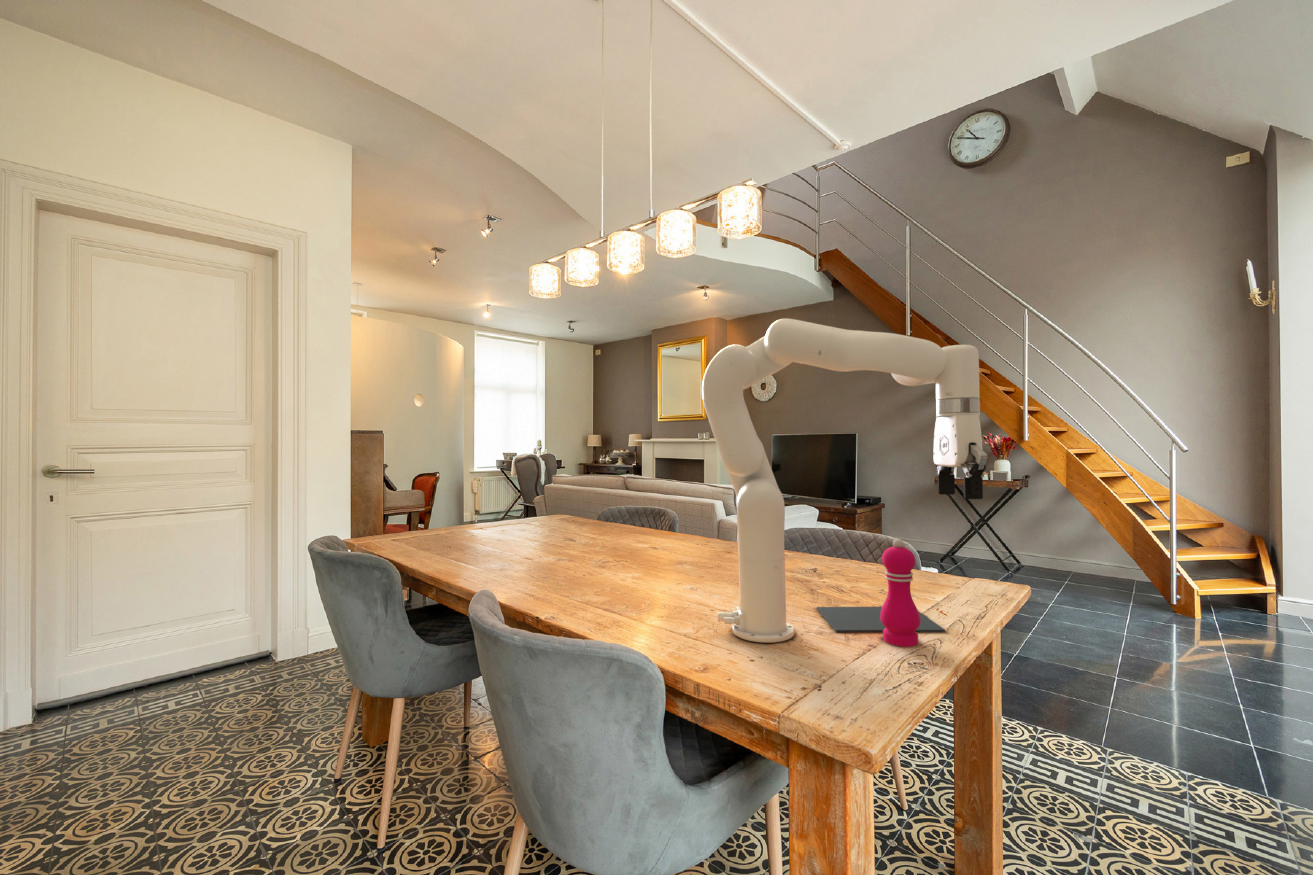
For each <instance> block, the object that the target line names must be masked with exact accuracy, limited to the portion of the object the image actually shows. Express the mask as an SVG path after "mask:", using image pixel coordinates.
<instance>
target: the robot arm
mask: <svg viewBox="0 0 1313 875" xmlns="http://www.w3.org/2000/svg"><path fill="white" fill-rule="evenodd" d="M979 354H980V353H979V350H978V348H977V347H976V346H974V345H971V344H953V345H947V346H943V347H941V346H940V345H939V344H938V343H936V342H933V341H931V340H928V339H924V338H921V337H920V338H919V337H915V336H910V335H904V334H899V333H893V332H883V331H868V330H858V329H857V330H856V329H855V330H854V329H845V328H839V327H836V326H830V325H825V324H820V323H819V324H818V323H815V322H809V321H805V320H801V319H794V318H780V319H777V320H775V321H774V322H772V323H771V324H770V325H769V327H768V329H767V330H766V333H765V335H764V336H762V337H761V338H759V339H757V340H756V341H754V342H752V343H751V344H749V345H747V346H744V345H741V344H730V345H727V346H725V347H723V348H722V349H720V350H719V351H718V352H717V353H716V354H715V355H714V357H713V358H712V359H711V360H710V362H709V363H708V365H707V367H706V369H705V371H704V374H703V378H702V384H701V397H702V402H703V407H704V410H705V411H704V412H705V414H706V417H707V419H708V423H709V426H710V429H711V432H712V435H713V438H714V440H715V444H716V447H717V449H718V453H719V458H720V461H721V463H722V466H723V467H724V469H725V470H726V472H727V474H728V477H729V479H730V482H731V485H732V488H733V491H734V493H735V497H736V526H737V527H736V529H737V557H738V599H739V606H736V610H731V611H732V612H726V611H717V613H716V614H717V615H716V616H717V617H716V618H717V622H718V623H719V622H720V623H721V622H723V624H724V625H731V626H732V627H731V628H732V633H733V634H734V635H735V636H736V637H738V638H740V639H742V640H744V641H745V640H746V641H749V642H754V643H766V644H767V643H769V644H770V643H772V644H773V643H781V642H784V641H788V640H790V639H792V638H793V637H794V636H795V627H794V625H792V624H791V623H789V622H787V591H786V590H787V589H786V588H787V587H786V556H785V555H786V553H785V552H786V550H785V548H786V547H785V523H786V522H785V521H786V519H785V518H786V517H785V516H786V510H785V508H786V506H785V500H784V496H783V493H782V492H781V490H780V488H779V485H778V483H777V480H776V477H775V475H774V471H773V469H772V466H771V463H770V462H769V461H770V460H769V459H768V456H767V454H766V451H765V447H764V444H763V442H762V441H761V439H760V438H759V436H758V433H757V431H756V429H755V426H754V423H753V421H752V419H751V416H750V413H749V409H748V406H747V403H746V400H745V397H744V390H746V389H749V388H750V387H752V386H754V385H756V384H758V383H760V382H761V381H763V380H765V379H767V378H769V377H770V376H772V375H774V374H776V373H778V372H780V371H781V370H783V369H784V368H786V367H788V366H789V365H791V364H792V363H797V364H802V365H805V366H807V365H808V366H812V367H815V368H816V367H817V368H821V369H825V370H829V371H833V372H834V371H835V372H844V373H845V372H846V373H847V372H856V371H874V372H881V373H887V374H891V377H892V378H893V379H894V381H896V382H897V383H898V384H900V385H902V386H906V387H917V386H923V385H930V384H935V424H934V432H933V449H932V450H933V451H932V452H933V453H932V454H933V455H932V456H933V459H932V460H933V463H934V466H935V468H936V471H935V473H936V475H937V476H936V477H937V494H938V495H955V494H956V476H955V474H953V473H954V471H955V468H958V467H961V469H962V471H963V473H964V475H965V477H963V498H964V500H982V499H983V498H984V490H983V489H984V487H983V486H984V485H983V478H984V477H985V470H986V468H987V465H986V464H987V460H988V458H989V457H988V453H986V451H985V450H983V436H982V427H981V420H980V416H981V401H980V400H981V399H980V398H981V397H980V394H981V393H980V355H979Z"/></svg>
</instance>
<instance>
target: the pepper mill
mask: <svg viewBox="0 0 1313 875" xmlns="http://www.w3.org/2000/svg"><path fill="white" fill-rule="evenodd" d="M892 545H893V546H890V547H888V548H886V549H885V550H884V552H883V553H882V556H881V562H882V566H884V568H885V569H886V570H885V571H884V573H885V576H884V578H885V579H886V580H887V595H886V598H885V600H884V602H883V604H882V605H881V607H882V609H881V612H880V620H881V622H882V624H883V625H884V626H885V627H886V628H885V629H884V630H883V632H882V639H883V641H884V642H885V643H887V644H889V645H893V646H896V647H903V648H912V647H915V646H917V645H918V644H919V633H918V632H915V630H916V629H917V628H918V627H919V626H920V623H921V622H920V615H919V612H920V611H919V610H918V608H917V606H916V604H915V602H914V599H913V597H912V592H911V582H912V581H913V580H914V578H913V576H914V573H913V572H912V570H913V569H914V568H915V566H916V558H915V555H914V553H913V552H912V551H911V550H910V549H909V548H907V547H904V546H903V545H904V542H903V541H902V539H901V538H895V539H894V540H893V542H892ZM918 611H919V612H918Z"/></svg>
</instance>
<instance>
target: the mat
mask: <svg viewBox="0 0 1313 875" xmlns="http://www.w3.org/2000/svg"><path fill="white" fill-rule="evenodd" d="M881 609H882V606H816V610H817V612H818V613H819V614H820V615H821V617H823V619H824V620H825V621H826V622H827V623H828V624H829V626H830V627H831V628H832V629H833V630H834V631H835V633H883V630H884V629H885V628H886V627H885V626H884V625H883V624H882V622H881V620H880V612H881ZM918 612H919V615H920V622H921V623H920V626H919V627H918V628H917V629H916V630H915V632H917V633H946V630H945V629H946V628H945V629H944V628H943V627H942V626H941V625H939V624H937V623H936V622H934V621H933V620H932V619H930V618H929V617H927V616H926V615H925V614H923V613H922V612H920V611H919V610H918Z"/></svg>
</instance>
